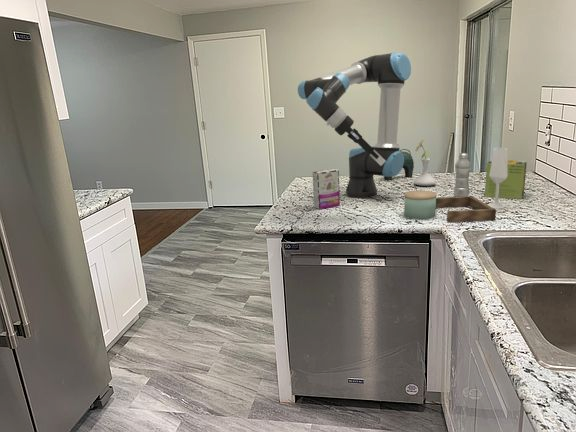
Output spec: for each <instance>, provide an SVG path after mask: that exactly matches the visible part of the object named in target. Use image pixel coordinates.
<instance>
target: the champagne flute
mask: <svg viewBox="0 0 576 432" xmlns="http://www.w3.org/2000/svg"><path fill="white" fill-rule="evenodd" d="M491 160H492V163H491V169H490V175H489V176H490V178H491V180H492V181H493V182H494V183H496V193H495V197H494V202H491V203H489V204H487V205H488V206H490V207H492V208H494V209H504V208H506V206H505V205H503V204H501V203H500V202H499V197H498V194H499V184H500V183H502V182H503V181H504V180H505V179H506V178H507V176H508V174H507V160H508V148H506V147H495V148H493V153H492V158H491Z"/></svg>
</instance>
